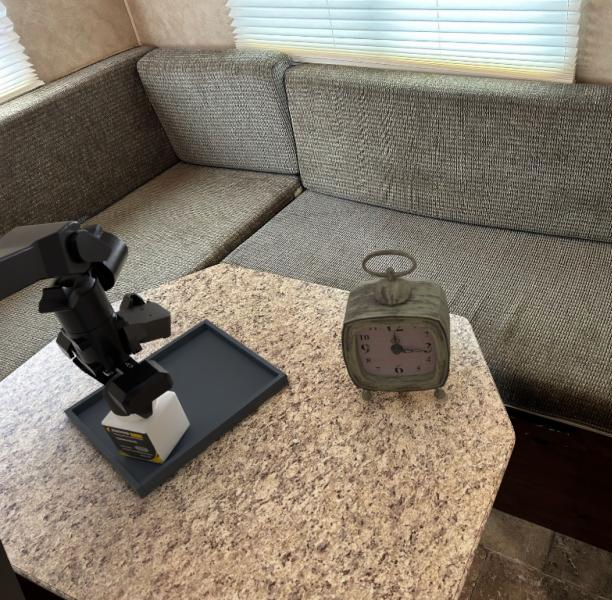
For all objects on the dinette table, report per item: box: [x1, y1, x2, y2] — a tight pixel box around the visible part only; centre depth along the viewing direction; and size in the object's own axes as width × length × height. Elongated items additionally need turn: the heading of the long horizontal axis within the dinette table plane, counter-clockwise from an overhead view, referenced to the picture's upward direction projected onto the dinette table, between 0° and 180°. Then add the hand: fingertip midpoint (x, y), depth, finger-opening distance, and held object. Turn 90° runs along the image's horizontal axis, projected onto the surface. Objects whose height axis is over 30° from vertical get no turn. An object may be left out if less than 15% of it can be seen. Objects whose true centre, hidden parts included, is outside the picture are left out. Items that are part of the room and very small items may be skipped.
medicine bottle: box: [102, 373, 190, 464], centre depth 82 cm, size 7×7×12 cm
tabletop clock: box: [340, 249, 451, 401], centre depth 83 cm, size 14×9×25 cm, turn 86°
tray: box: [63, 318, 290, 499], centre depth 92 cm, size 26×22×2 cm
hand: (136, 404), depth 81 cm, fingers closed on medicine bottle, 6 cm apart
